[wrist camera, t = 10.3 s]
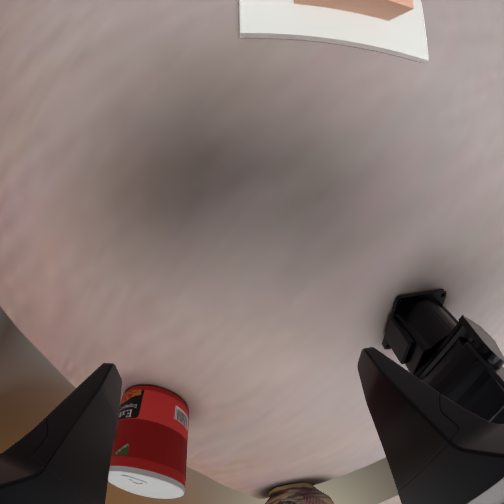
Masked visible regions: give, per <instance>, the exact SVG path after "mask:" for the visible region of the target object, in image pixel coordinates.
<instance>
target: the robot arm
mask: <svg viewBox="0 0 504 504" xmlns="http://www.w3.org/2000/svg"><path fill="white" fill-rule="evenodd" d="M446 294H447V293H446V291H445V290H444V289H440V290H434V291H428V292H421V293H415V294H408V295H401V296H398V297H397V298H396V300H395V303H394V307H393V311H392V314H391V318H390V321H389V324H388V328H387V331H386V334H385V338H384V341H383V347H384V349H391V348H392V350H393V352H394V353H395V355H396V356H397V358H398V360H399V361H400V363H401V364H405V365H406V367H407V368H408V370H409V371H410V372H408V371H407V370H405V369H404V368H403V367H401V366H400V365H398V364H397V363H395V362H394V361H392V360H391V359H390V358H388V357H387V356H385V355H384V354H382V353H381V352H380V351H378V350H377V349H375V348H373V347H370V348H364V349H363V350H362V352H361V355H360V358H359V362H358V372H359V375H360V379H361V383H362V387H363V391H364V395H365V399H366V402H367V405H368V408H369V411H370V413H371V416H372V419H373V421H374V424H375V427H376V430H377V432H378V435H379V438H380V441H381V443H382V446H383V449H384V452H385V455H386V457H387V460H388V463H389V466H390V469H391V472H392V475H393V478H394V481H395V484H396V487H397V490H398V494H399V497H400V500H401V503H402V504H504V368H503V366H502V365H503V364H504V357H503V355H502V353H501V351H500V349H499V348H498V346H497V344H496V342H495V341H494V339H493V338H492V337H491V336H490V335H489V334H488V333H487V332H486V331H485V330H484V329H483V328H482V327H481V326H479V325H477V324H476V323H474V322H473V321H471V320H470V319H468V318H466V317H465V316H463V315H462V316H461V318H460V319H459V322H458V321H457V320H456V319H455V318H454V317H453V315H452V314H451V313H450V312H449V311H448V310H447V309H446V308H445V307H444V306H443V303H444V300H445V297H446ZM121 387H122V380H121V377H120V375H119V372H118V370H117V368H116V366H115V365H114V364H113V363H103V364H102V365H101V366H100V367H99V368H98V369H97V370H96V371H94V372H93V373H92V374H91V375H90V376H89V377H88V378H87V379H86V380H85V381H84V382H83V383H82V384H80V385H79V386H78V387H77V388H76V389H75V390H74V391H73V392H72V393H71V394H70V395H69V396H68V397H67V398H66V399H64V400H63V401H62V402H61V403H60V404H59V405H58V406H57V407H56V408H55V409H54V410H53V411H52V412H51V413H50V414H49V415H48V416H47V417H46V418H44V419H43V420H42V421H41V422H40V423H39V424H38V425H37V426H36V427H35V428H34V429H32V430H31V431H30V432H29V433H28V434H26V435H25V436H24V437H23V438H22V439H20V440H19V441H18V442H16V443H15V444H14V445H12V446H11V447H10V448H9V449H7V450H6V451H4V452H3V453H1V454H0V504H105V499H106V491H107V482H108V476H109V469H110V463H111V457H112V451H113V445H114V439H115V434H116V429H117V424H118V418H119V407H120V396H121Z"/></svg>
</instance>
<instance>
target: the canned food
mask: <svg viewBox="0 0 504 504" xmlns="http://www.w3.org/2000/svg"><path fill="white" fill-rule="evenodd" d="M188 423H189V412H188V409H187V406H186V404H185V403H184V401H183V400H182V399H181V398H180V397H178V396H177V395H175V394H174V393H172V392H170V391H168V390H165V389H162V388H159V387H155V386H144V385H142V386H135V387H132V388H130V389H128V391H127V392H126V393H125V394H124V395H123V397H122V400H121V404H120V407H119V418H118V424H117V429H116V434H115V439H114V445H113V451H112V457H111V463H110V469H109V476H108V481H109V482H110V483H112V484H114V485H115V486H117V487H119V488H121V489H123V490H126V491H128V492H131V493H135V494H138V495H142V496H147V497H153V498H162V499H163V498H164V499H170V498H178V497H181V496H183V495H184V490H185V481H186V460H187V440H188Z"/></svg>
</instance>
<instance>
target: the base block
mask: <svg viewBox="0 0 504 504" xmlns="http://www.w3.org/2000/svg"><path fill="white" fill-rule="evenodd" d="M294 4H301V5H310V6H318V7H325V8H331V9H337V10H343V11H348V12H353V13H358V14H363V15H367V16H371V17H375V18H379V19H383V20H387V21H389V20H391V19H393V18H395V17H398V16H400V15H402V14H404V13H406V12H408V11H410V10H413V9H414V6H413V0H294Z"/></svg>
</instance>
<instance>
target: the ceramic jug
mask: <svg viewBox="0 0 504 504" xmlns="http://www.w3.org/2000/svg"><path fill="white" fill-rule="evenodd" d="M268 494H269V496H270V498H269V499H268V501H267V502H266V503H265V504H334V503H333V501H332V499H331V498H330V497H329V496H328V495H326V494H324V493H322V492H321V491H319V490H317V489H316V488H315V487H314V486H313V485H312V484H311V483H295V484H289V485H284V486H280V487H276V488H274V489H273V490H272V491H270V492H269V493H268Z"/></svg>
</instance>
